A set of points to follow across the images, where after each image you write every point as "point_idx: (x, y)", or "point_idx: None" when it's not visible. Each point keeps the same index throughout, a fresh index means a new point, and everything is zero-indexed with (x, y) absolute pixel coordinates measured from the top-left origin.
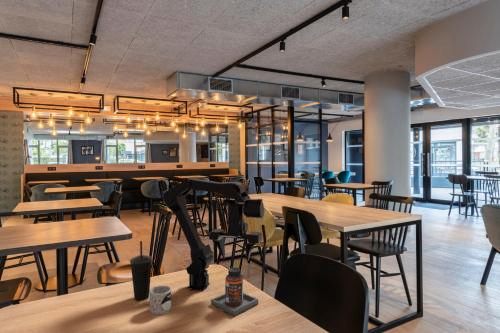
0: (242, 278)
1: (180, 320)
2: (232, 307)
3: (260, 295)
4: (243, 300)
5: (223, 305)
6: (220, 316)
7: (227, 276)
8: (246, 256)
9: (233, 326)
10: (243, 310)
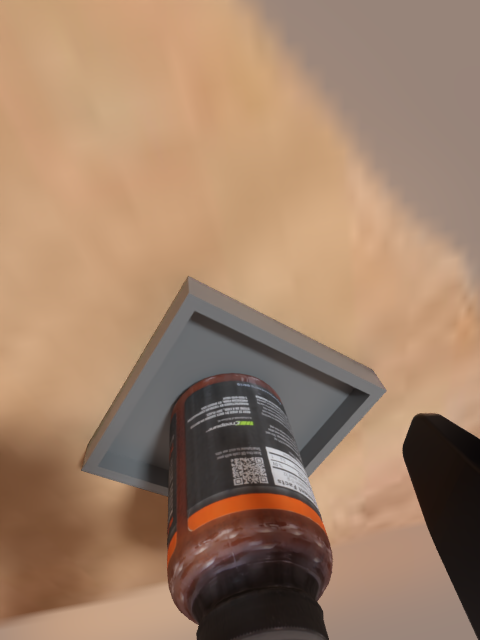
0: (331, 570)
1: (24, 577)
2: None
3: (385, 250)
4: (280, 376)
5: None
6: None
7: (196, 621)
8: (444, 559)
9: None
10: None
